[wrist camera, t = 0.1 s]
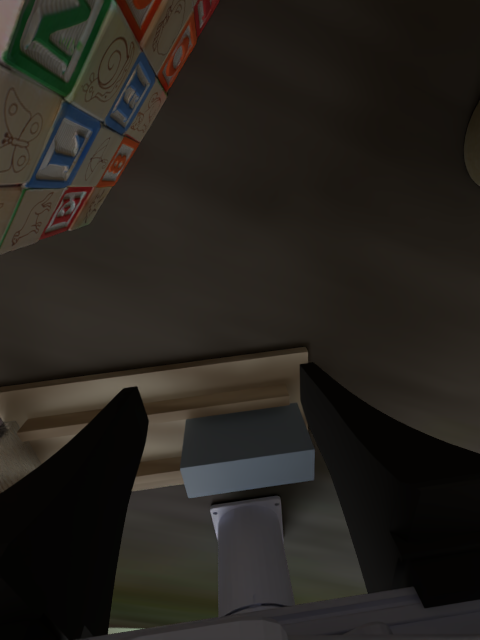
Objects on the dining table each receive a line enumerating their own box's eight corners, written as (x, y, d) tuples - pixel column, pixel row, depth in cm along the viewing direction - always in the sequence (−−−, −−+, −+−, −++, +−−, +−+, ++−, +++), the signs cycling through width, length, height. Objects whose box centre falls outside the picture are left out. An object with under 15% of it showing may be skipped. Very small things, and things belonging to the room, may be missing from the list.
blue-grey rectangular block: (297, 430, 27) (314, 480, 22) (193, 445, 27) (188, 498, 22) (297, 402, 25) (314, 449, 21) (186, 417, 25) (179, 468, 21)
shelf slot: (305, 459, 30) (333, 543, 23) (58, 494, 29) (8, 592, 22) (305, 346, 24) (342, 413, 17) (-7, 387, 23) (-105, 475, 16)
